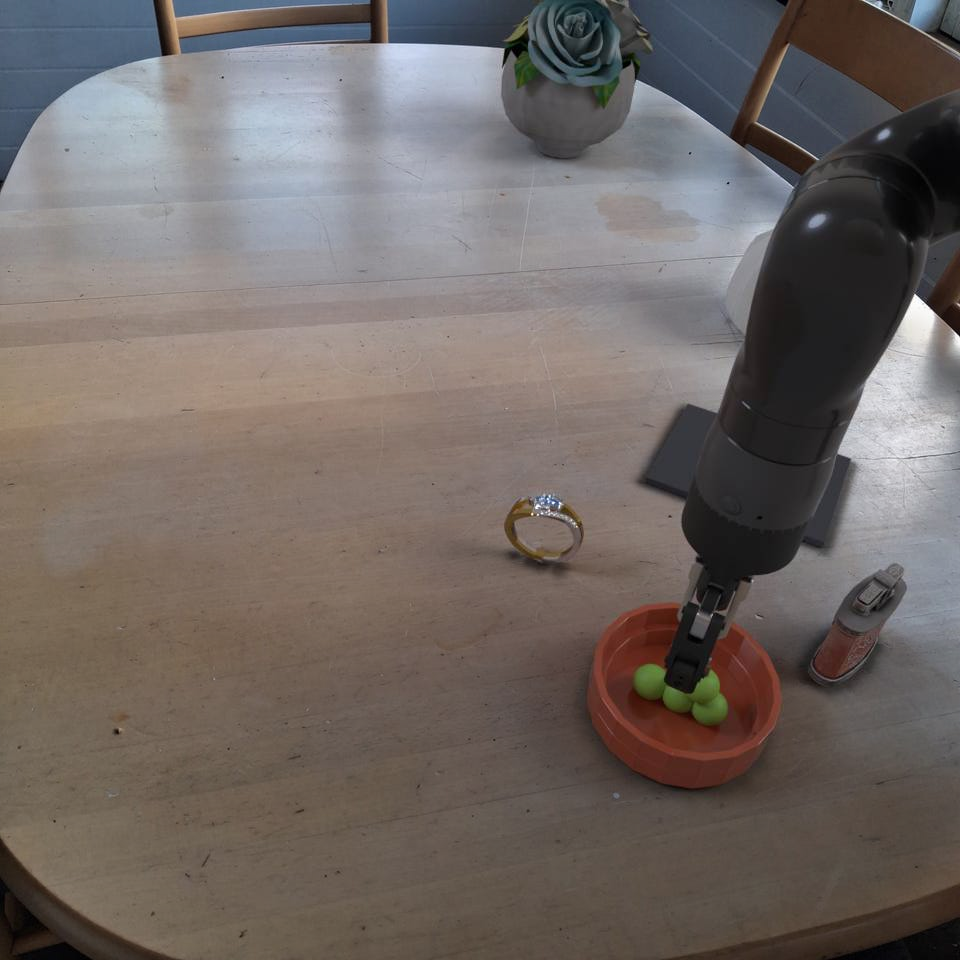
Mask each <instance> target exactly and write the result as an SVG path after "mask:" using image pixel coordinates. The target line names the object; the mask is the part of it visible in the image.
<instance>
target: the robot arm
mask: <svg viewBox="0 0 960 960" xmlns="http://www.w3.org/2000/svg"><path fill="white" fill-rule="evenodd" d="M773 229H774V230H773V232H772V234H771V237H770V240H769V242H768V245H767V248H766V251H765V254H764V257H763V261H762V264H761V268H760V271H759V275H758V278H757V282H756V286H755V290H754V294H753V299H752V303H751V307H750V312H749V317H748V322H747V328H746V333H745V336H744V340H743V342H742V343H741V346H740V348H739V350H738V352H737V353H736V356H735V359H734V361H733V364H732V367H731V370H730V373H729V376H728V380H727V383H726V386H725V389H724V392H723V396H722V399H721V401H720V405H719V408H718V411H717V412H716V413H717V416H716V418H715V420H714V422H713V423H712V425H711V427H710V429H709V431H708V433H707V436H706V439H705V441H704V445H703V448H702V451H701V454H700V457H699V461H698V464H697V467H696V470H695V473H694V477H693V480H692V483H691V486H690V489H689V492H688V496H687V498H685V503H684V506H683V508H682V513H681V519H680V522H681V530H682V533H683V536H684V538H685V540H686V541H687V543H688V544H689V546H690V547H691V549H693V551H694V552H695V553H696V555H695V558H694V560H693V562H692V565H691V567H690V570H689V572H688V580H689V582H688V586H687V588H686V590H685V594H684V596H683V598H682V601H681V603H680V604H681V606H680V609H679V611H678V614H677V618H678V620H679V622H680V624H679V627H678V629H677V632H676V635H675V638H674V641H673V642H672V645H671V647H670V648H671V649H670V652H669V655H666V657H665V660H664V662H666V663H665V666H664V668H666V669H667V671H666V674H665V677H664V682H665V683H666V684H667V686H670V687H672V688H674V689H676V690H679V691H681V692H683V693H685V694H692V693H694V691H695V688H696V686H697V683H700V680H701V678H703V679H704V677H705V674H706V671H705V668H706V666H707V664H710V661H711V659H712V657H710V656H711V653H712V651H713V648H714V646H715V643H716V641H717V640H718V639H722V638H725V637H726V636H727V634H728V632H729V629H730V627H731V624H732V622H734V619H735V616H736V614H737V611H738V609H739V606H740V605H741V603H742V602H743V601H745V600H746V599H747V597H748V595H749V593H750V590H751V588H752V585H753V583H754V580H755V576H766V575H769V574H772V573H773V574H774V573H775V572H779V571H780V570H783V569H784V568H785V567H787V566H788V565H789V564H790V563H791V562H792V561H793V560H794V558H795V557H796V555H797V553H798V551H799V549H800V547H801V545H802V543H803V541H802V540H803V538H804V536H805V534H806V531H807V529H808V527H809V525H810V523H811V521H812V518H813V516H814V514H815V512H816V509H817V507H818V505H819V503H820V501H821V498H822V496H823V494H824V492H825V490H826V487H827V485H828V483H829V480H830V478H831V475H832V472H833V468H834V464H835V459H836V456H837V454H839V450H840V447H841V444H842V442H843V440H844V438H845V436H846V433H847V432H848V429H849V427H850V425H851V422H852V420H853V418H854V415H855V414H856V412H857V409H858V407H859V404H860V402H861V399H862V397H863V394H864V390H865V387H866V383H867V381H868V379H869V378H870V376H871V375H872V373H873V371H874V370H875V368H876V367H877V365H878V364H879V362H880V360H881V358H882V357H883V355H884V354H885V353H886V351H887V349H888V347H889V346H890V344H891V342H892V341H893V339H894V337H895V335H896V334H897V331H898V330H899V328H900V326H901V324H902V323H903V320H904V319H905V317H906V314H907V312H908V310H909V308H910V306H911V303H912V301H913V299H914V297H915V294H916V292H917V290H918V288H919V285H920V283H921V281H922V277H923V275H924V270H925V267H926V263H927V258H928V253H929V248H931V247H933V246H935V245H936V244H938V243H940V242H943V241H944V240H946V239H948V238H951V237H953V236H955V235H958V234H960V88H958V89H955V90H952V91H950V92H947V93H945V94H942V95H940V96H936V97H935V98H932V99H930V100H928V101H925V102H923V103H921V104H918V105H917V106H914V107H912V108H910V109H907V110H905V111H903V112H900V113H898V114H896V115H894V116H892V117H889V118H887V119H885V120H884V121H881V122H879V123H877V124H874V125H873V126H871V127H869V128H867V129H865V130H863V131H860V132H859V133H857V134H856V135H854V136H852V137H850V138H849V139H847V140H846V141H843V142H842V143H840V144H839V145H838V146H836V147H834V148H833V149H831V150H830V151H828V152H827V153H826V154H824V155H823V156H822V157H820V158H819V159H818V160H816V161H815V162H814V163H812V164H811V166H809V167H808V169H807V170H806V171H804V173H803V174H802V175H801V176H800V178H799V179H798V180H797V181H796V183H795V184H794V186H793V188H792V190H791V192H790V194H789V196H788V198H787V201H786V203H785V205H784V207H783V209H782V211H781V213H780V215H779V217H778V219H777V221H776V223H775V226H774V227H773ZM694 597H695V599H696V601H697V602H698V604H696V603H694V602H692V601H693V599H694ZM727 609H728V610H727ZM726 610H727V613H726V615H723V614H721V613H719V612H723V611H726Z"/></svg>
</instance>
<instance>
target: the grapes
mask: <svg viewBox="0 0 960 960" xmlns="http://www.w3.org/2000/svg"><path fill="white" fill-rule="evenodd" d="M705 671H706V674H705V677H704V679H703V678H701V680H700V683H697V686H696V688H695V691H694V693H692V694H685V693H683V692H681V691H679V690H676V689H674V688H672V687H670V686H667V684H666V683H665V682H664V677H665V674H666V672H665V671H664V670H663V669H662V668H661V667H660V666H658V665H655V664H646V665H643V666H641V667H640V668H639V669H637V671H636V672H635V674H634V677H633V685H634V688H635V690H636V692H637V693H638V694H639V695H640V696H641V697H642V698H644V699H647V700H656V699H659V698H661V697H662V699H663V702H664V704H665V705H666V706H667V707H668V708H669V709H670V710H672V711H674V712H677V713H685V712H688V711H690V710H691V711H692V714H693V716H694V718H695V719H696V720H697V721H698V722H699V723H701V724H703V725H706V726H715V725H718V724H720V723H721V722H723V721H724V719H725V718H726V716H727V713H728V704H727V701H726V699H725V698H724V696H723V695H722V694H721V693H719V689H720V683H719V679H718V677H717V675H716V674H715V673H714V672H713V671H712V670H711V665H710V664H707V666H706V668H705Z"/></svg>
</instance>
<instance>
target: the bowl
mask: <svg viewBox="0 0 960 960" xmlns="http://www.w3.org/2000/svg"><path fill="white" fill-rule="evenodd" d="M681 604H682V603H681V602H680V603H679V602H674V601H673V602H670V601H669V602H660V603H649V604H647V603H646V604H644V605H642V606H639V607H635V608H634V609H631V610H628V611H627V612H626V611H625V612H624V613H622V614H621V615H620V616H619V617H617V618H616V619H615V620H614V621H613V622H612V623H610V625H608V626H607V627H606V628H605V629H604V630H603V633H602V635H601V637H600V639H599V641H598V643H597V644H596V646H595V649H594V653H593V657H592V661H591V665H590V670H589V674H588V677H587V690H586V692H587V693H586V705H587V708H588V712H589V715H590V719H591V722H592V726H593V727H594V729H595V730H596V732H597V733H598V735H599V737H600V738H601V740H602V741H603V743H604V744H605V746H606V747H607V749H609V751H610V752H611V753H612V754H614V755H615V756H616V757H617V758H618V759H619V760H620V761H622V762H623V763H624V764H625V765H626V766H627V767H628V768H630V769H631V770H632V771H634V772H637V773H639V774H641V775H642V776H645V777H646V778H649V779H651V780H653V781H655V782H658V783H659V784H664V785H668V786H669V785H670V786H676V787H680V788H686V789H697V788H706V787H715V786H721V785H723V784H726V783H727V782H729V781H732V780H733V779H735V778H737V777H740V776H741V775H743V774H745V773H746V772H747V771H748V770H749V769H750V768H751V766H752V765H753V764H754V763H755V762H756V760H757V759H758V758H759V757H760V756H761V754H762V752H763V751H764V749H765V747H766V745H767V743H768V741H769V739H770V737H771V735H772V733H773V731H774V729H775V728H776V725H777V721H778V718H779V716H780V715H779V714H780V711H781V707H782V704H783V702H782V694H781V683H780V678H779V675H778V672H777V671H776V668H775V666H774V665H773V663H772V660H771V658H770V656H769V654H768V652H766V651H765V649H763V647H762V646H761V645H760V644H759V642H758V641H757V640H756V639H755V638H754V636H752V634H751V633H749V632H748V631H746V630H745V629H744V628H743V627H741V626H740V625H738V624H737V623H735V622H734V621H733V622H732V624H731V627H730V629H729V632H728V634H727V636H726V637H725V638H722V639H718V640H717V641H716V643H715V646H714V648H713V651H712V653H711V656H710V657H712V659H711V661H710V665H711V670H712V671H713V672H714V673H715V674H716V675H717V677H718V679H719V683H720V689H719V693H721V694H722V695H723V696H724V698H725V699H726V701H727V704H728V713H727V716H726V718H725V719H724V721H723V722H721V723H720V724H718V725H715V726H706V725H703V724H701V723H699V722H698V721H697V720H696V719H695V718H694V716H693V714H692V711H691V710H690V711H688V712H685V713H677V712H674V711H672V710H670V709H669V708H668V707H667V706H666V705H665V704H664V702H663V699H662V697H661V698H659V699H656V700H647V699H644V698H642V697H641V696H640V695H639V694H638V693H637V692H636V690H635V688H634V685H633V677H634V674H635V672H636V671H637V669H639V668H640V667H641V666H643V665H646V664H655V665H658V666H660V667H661V668H662V669H663V670H664V671H665V672H666V671H667V669H666V668H664V666H665V663H666V662H664V660H665V657H666V655H669V652H670V649H671V648H670V647H671V645H672V642H673V641H674V638H675V635H676V632H677V629H678V627H679V624H680V622H679V620H678V618H677V614H678V611H679V609H680V606H681Z"/></svg>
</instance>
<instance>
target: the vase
mask: <svg viewBox="0 0 960 960" xmlns="http://www.w3.org/2000/svg"><path fill="white" fill-rule="evenodd" d="M773 230H774V228H772V229H770V230H767V231H764V232H763V233H760V234H758V235H756V236H755V237H754V238H753V240H752V241H751V242H750V243H749V245H747V246H748V247H747V248H746V249H745V251H744V253H743V255H742V257H741V259H740V261H739V263H738V264H737V267H736V268H735V270H734V272H733V274H732V276H731V279H730V281H729V283H728V285H727V288H726V292H725V295H724V303H723V307H724V309H725V311H726V313H727V315H728V318H729V319H730V321H731V323H732V325H733V326H734V328H735V330H736V331H739V332H740V333H741V334H742V335H743V336H744V337H745V333H746V328H747V322H748V317H749V312H750V307H751V303H752V299H753V294H754V290H755V286H756V282H757V278H758V275H759V271H760V268H761V264H762V261H763V257H764V254H765V251H766V248H767V245H768V242H769V240H770V237H771V234H772V232H773Z"/></svg>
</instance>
